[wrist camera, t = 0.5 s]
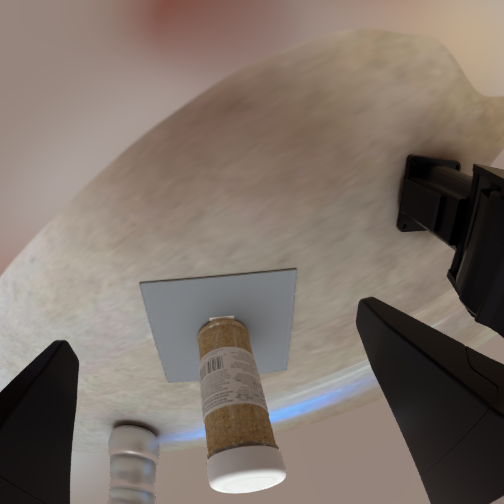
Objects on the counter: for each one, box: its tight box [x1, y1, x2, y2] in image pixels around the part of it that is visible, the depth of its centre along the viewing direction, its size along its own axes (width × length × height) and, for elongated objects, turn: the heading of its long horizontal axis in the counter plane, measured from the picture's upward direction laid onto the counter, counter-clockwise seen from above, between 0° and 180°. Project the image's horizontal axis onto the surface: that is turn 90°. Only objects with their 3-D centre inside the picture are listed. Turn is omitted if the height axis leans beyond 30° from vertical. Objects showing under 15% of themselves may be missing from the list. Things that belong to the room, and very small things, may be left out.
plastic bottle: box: [107, 425, 160, 504], centre depth 22 cm, size 6×7×20 cm
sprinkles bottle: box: [197, 319, 286, 493], centre depth 19 cm, size 5×5×13 cm
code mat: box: [139, 269, 297, 383], centre depth 25 cm, size 12×12×1 cm
